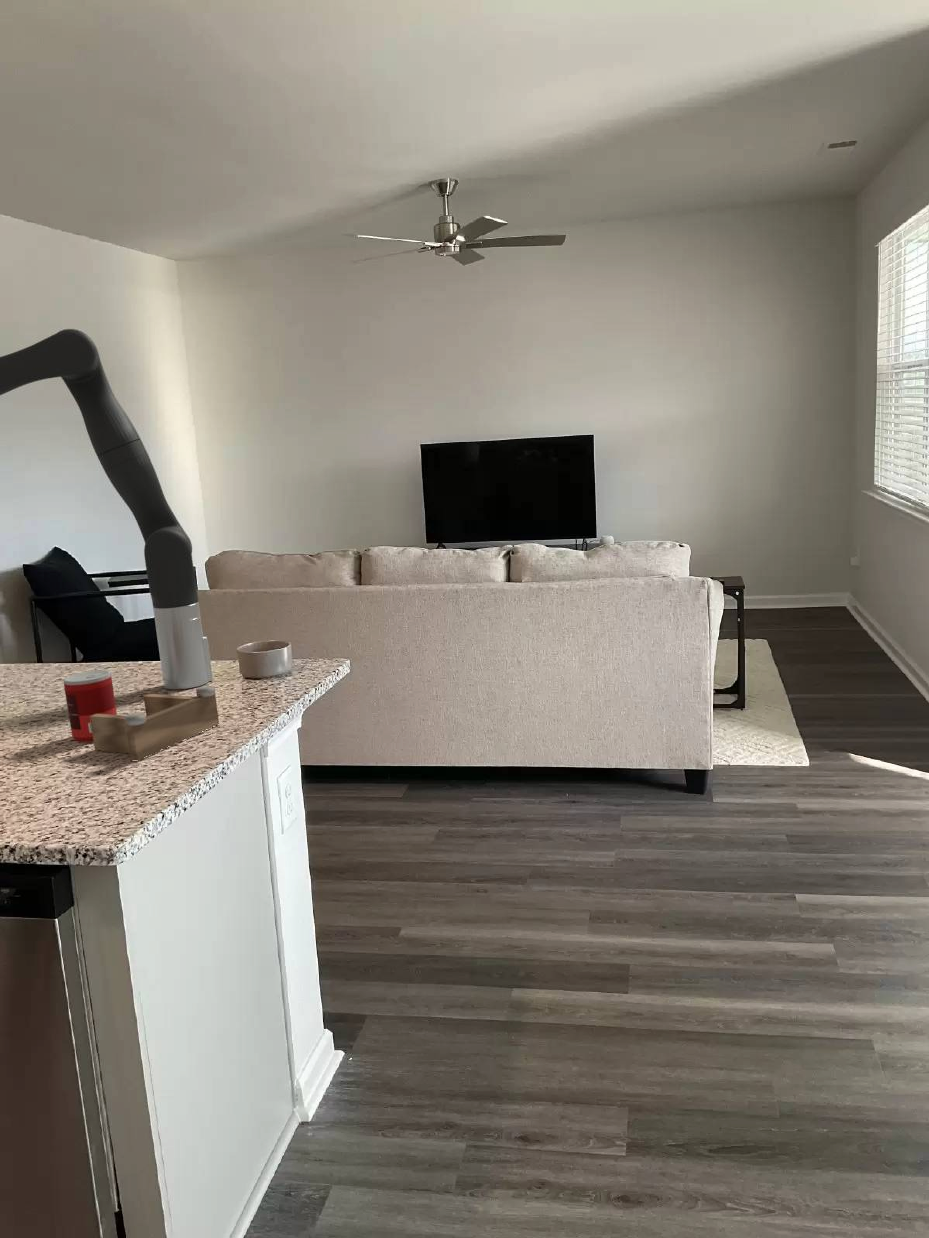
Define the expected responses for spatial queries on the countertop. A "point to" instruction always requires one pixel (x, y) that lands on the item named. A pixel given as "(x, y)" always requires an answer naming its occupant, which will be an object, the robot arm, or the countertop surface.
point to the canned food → (88, 701)
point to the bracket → (156, 723)
